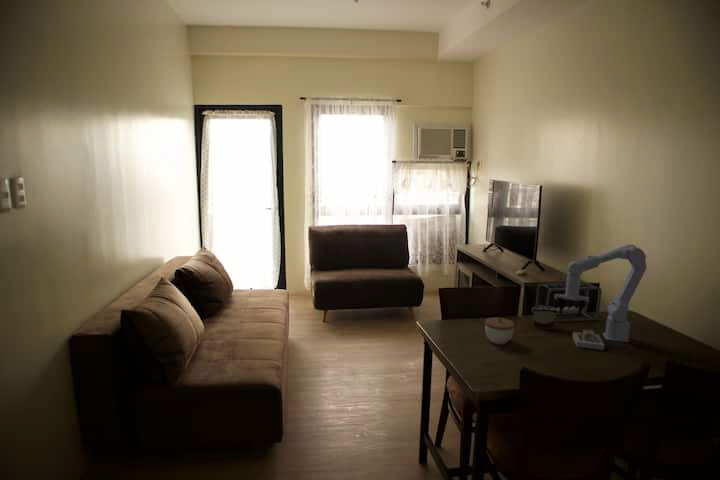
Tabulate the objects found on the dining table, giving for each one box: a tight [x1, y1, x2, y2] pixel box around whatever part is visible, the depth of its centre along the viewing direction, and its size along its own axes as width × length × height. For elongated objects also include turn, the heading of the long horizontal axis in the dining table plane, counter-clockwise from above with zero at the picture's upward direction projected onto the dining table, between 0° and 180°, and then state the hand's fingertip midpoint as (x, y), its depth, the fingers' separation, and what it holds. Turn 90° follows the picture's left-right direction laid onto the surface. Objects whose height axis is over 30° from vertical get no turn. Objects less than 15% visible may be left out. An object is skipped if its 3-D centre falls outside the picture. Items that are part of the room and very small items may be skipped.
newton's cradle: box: [535, 281, 602, 323], centre depth 247 cm, size 30×10×18 cm, turn 100°
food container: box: [531, 304, 558, 329], centre depth 236 cm, size 12×6×10 cm, turn 84°
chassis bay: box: [571, 331, 605, 351], centre depth 216 cm, size 11×12×2 cm
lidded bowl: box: [484, 317, 515, 345], centre depth 215 cm, size 13×13×11 cm
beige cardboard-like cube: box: [582, 329, 596, 342], centre depth 216 cm, size 4×5×5 cm
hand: (569, 314), depth 226 cm, fingers open, 7 cm apart
